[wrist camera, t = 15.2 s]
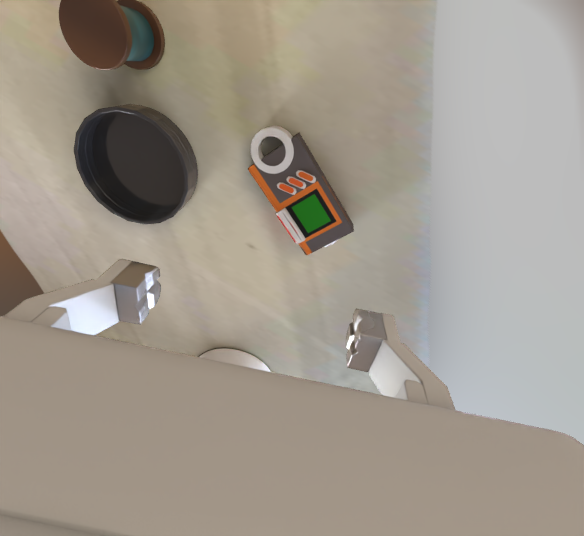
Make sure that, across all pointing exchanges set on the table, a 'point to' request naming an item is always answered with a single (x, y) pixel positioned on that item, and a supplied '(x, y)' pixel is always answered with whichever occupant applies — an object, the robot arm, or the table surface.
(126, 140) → the pan
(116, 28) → the spool
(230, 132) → the table surface
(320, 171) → the electronic device
